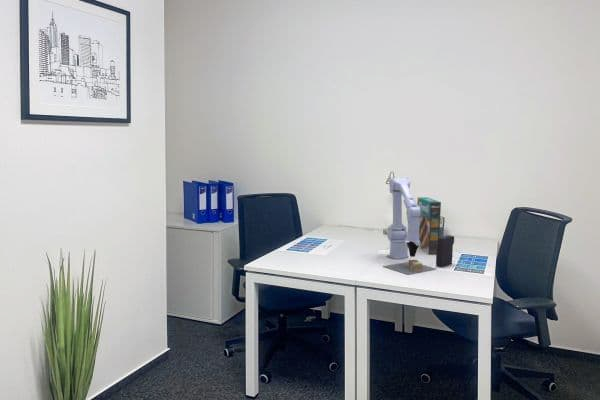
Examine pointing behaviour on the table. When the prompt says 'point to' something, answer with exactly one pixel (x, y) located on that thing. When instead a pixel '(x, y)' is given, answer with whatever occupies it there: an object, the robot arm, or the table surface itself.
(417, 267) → the maple block
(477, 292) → the table surface
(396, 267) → the mat
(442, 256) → the small drawer cabinet
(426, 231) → the cake mix box
